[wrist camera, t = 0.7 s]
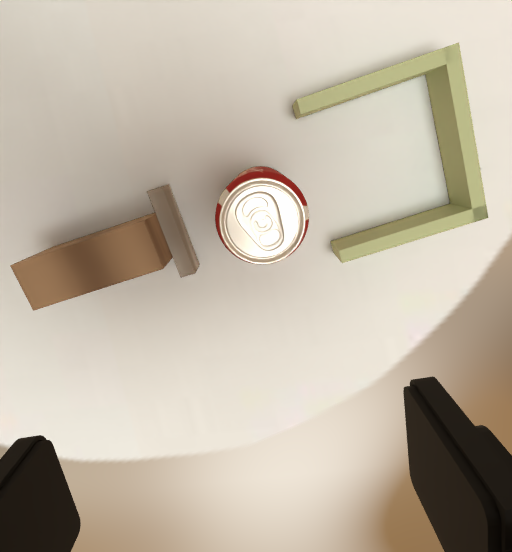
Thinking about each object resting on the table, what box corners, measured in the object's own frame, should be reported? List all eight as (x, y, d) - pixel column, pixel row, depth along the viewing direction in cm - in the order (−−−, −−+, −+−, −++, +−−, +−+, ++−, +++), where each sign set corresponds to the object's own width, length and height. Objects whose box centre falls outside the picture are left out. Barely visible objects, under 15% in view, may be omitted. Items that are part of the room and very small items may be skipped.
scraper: (78, 303, 35) (44, 331, 30) (42, 227, 34) (-2, 241, 28) (199, 264, 34) (188, 286, 29) (169, 184, 33) (150, 190, 27)
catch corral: (333, 252, 34) (342, 263, 31) (292, 105, 31) (296, 99, 28) (464, 211, 33) (488, 217, 30) (436, 55, 30) (458, 42, 27)
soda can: (275, 154, 32) (285, 153, 20) (303, 213, 33) (328, 244, 22) (216, 185, 33) (194, 200, 21) (246, 242, 34) (241, 286, 22)
